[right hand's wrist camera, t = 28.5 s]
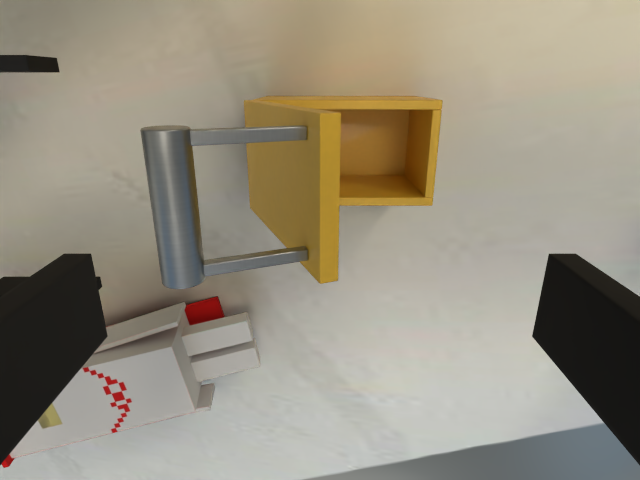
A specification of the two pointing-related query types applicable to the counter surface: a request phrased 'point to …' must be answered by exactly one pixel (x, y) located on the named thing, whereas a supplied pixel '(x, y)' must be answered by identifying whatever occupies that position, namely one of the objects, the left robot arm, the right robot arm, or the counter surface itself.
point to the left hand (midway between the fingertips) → (70, 188)
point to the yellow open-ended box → (382, 146)
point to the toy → (146, 374)
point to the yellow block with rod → (251, 191)
